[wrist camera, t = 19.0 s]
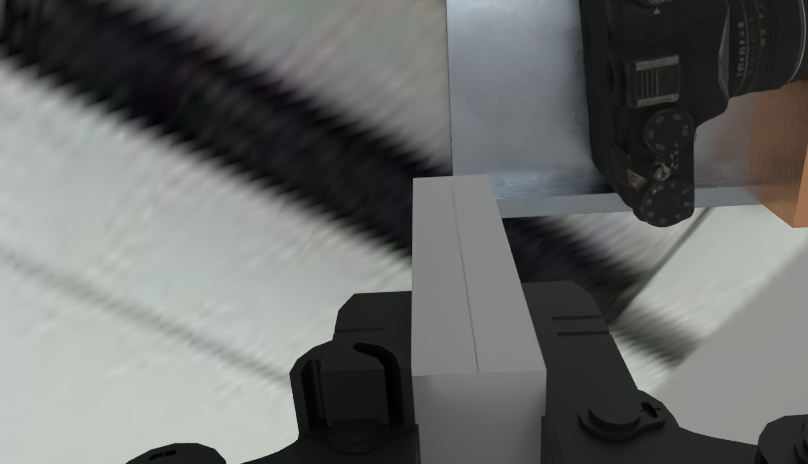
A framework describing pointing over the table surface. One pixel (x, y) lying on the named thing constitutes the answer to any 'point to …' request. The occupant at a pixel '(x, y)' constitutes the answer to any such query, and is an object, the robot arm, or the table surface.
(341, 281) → the table surface
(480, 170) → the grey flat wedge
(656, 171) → the camera
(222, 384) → the table surface
